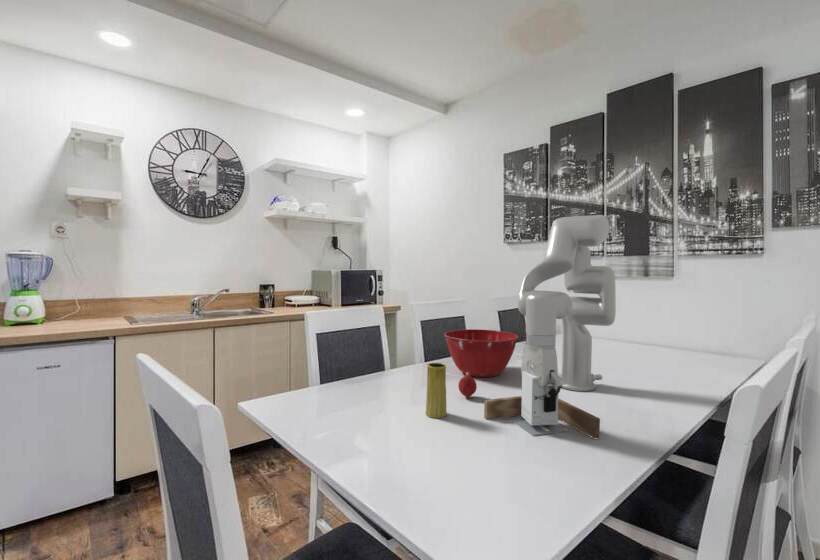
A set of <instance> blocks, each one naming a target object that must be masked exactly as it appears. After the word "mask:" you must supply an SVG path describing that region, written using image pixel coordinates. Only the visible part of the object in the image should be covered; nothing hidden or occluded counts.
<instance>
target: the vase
mask: <svg viewBox="0 0 820 560" xmlns="http://www.w3.org/2000/svg"><path fill="white" fill-rule="evenodd" d="M426 366H427V372H426V373H427V375H426V401H425V405H426V406H425V416H427V417H428V418H431V419H441V418H445V417H447V414H448V412H447V386H446V385H447V384H446V381H447V380H446V379H447V377H446V375H447V374H446V372H447V371H446V369H447V365H446V364H445V363H441V362H430V363H428V364H427V365H426Z"/></svg>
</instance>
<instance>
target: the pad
mask: <svg viewBox="0 0 820 560" xmlns="http://www.w3.org/2000/svg"><path fill="white" fill-rule="evenodd" d="M511 422H512V423H514V424H515V425H517V426H519V427H520V428H521V429H523V430H524V431H526V432H527V433H528V434H530V435H532V436H533V437H538V436H544V434H545V435H550V433H552V434H557V433H556V432H559V433H564V432H563V431H566V432H568V430H567V429H566V428H564V427H562V426H561V425H559V424H558V425H533V426H531V425H530V424H529V423H528V422H527V421H526V420H525V419H524V418H521V419H514V420H512V419H511Z"/></svg>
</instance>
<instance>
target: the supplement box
mask: <svg viewBox="0 0 820 560" xmlns="http://www.w3.org/2000/svg"><path fill="white" fill-rule="evenodd" d="M558 378H559V376H558ZM559 379H560V378H559ZM547 384H552V380H551V379H550V378H549V381H548V383H547ZM548 389H549V391H550V390H551V389H552V387H548ZM521 396H522V409H521V415H520V416H521V417H522V419H525V420H526V421H527V422H528V423H529V424H530V425H531V426H533V425H559V419H558V398H559V395H558V396H557V397H556V411H554V412H544V396H546V394H545V391H544V388H543V387H539V386H538V378H537V377H535V376H533V375H531V374H528V373H526V372H524V371H522V373H521Z"/></svg>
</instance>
